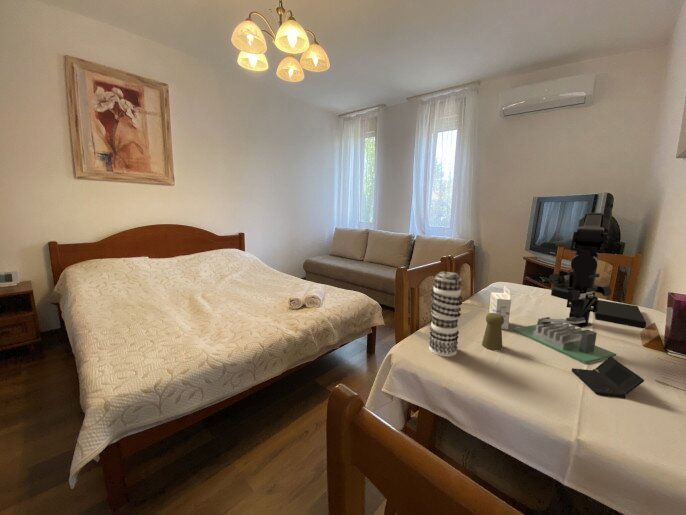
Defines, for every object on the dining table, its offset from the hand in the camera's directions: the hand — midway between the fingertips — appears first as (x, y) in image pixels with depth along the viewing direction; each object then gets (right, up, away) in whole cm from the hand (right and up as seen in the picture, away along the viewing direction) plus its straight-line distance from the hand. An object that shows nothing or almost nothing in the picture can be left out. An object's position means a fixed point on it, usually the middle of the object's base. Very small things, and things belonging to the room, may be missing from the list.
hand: (577, 317), depth 91 cm
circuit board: (-1, -10, +6) cm, 11 cm away
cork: (-26, -10, +3) cm, 28 cm away
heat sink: (-1, -9, +5) cm, 10 cm away
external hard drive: (+41, -6, +30) cm, 51 cm away
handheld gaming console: (-7, -14, -17) cm, 23 cm away
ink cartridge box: (-15, -7, +20) cm, 26 cm away
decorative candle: (-43, -11, 0) cm, 44 cm away
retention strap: (-2, -2, +5) cm, 6 cm away
